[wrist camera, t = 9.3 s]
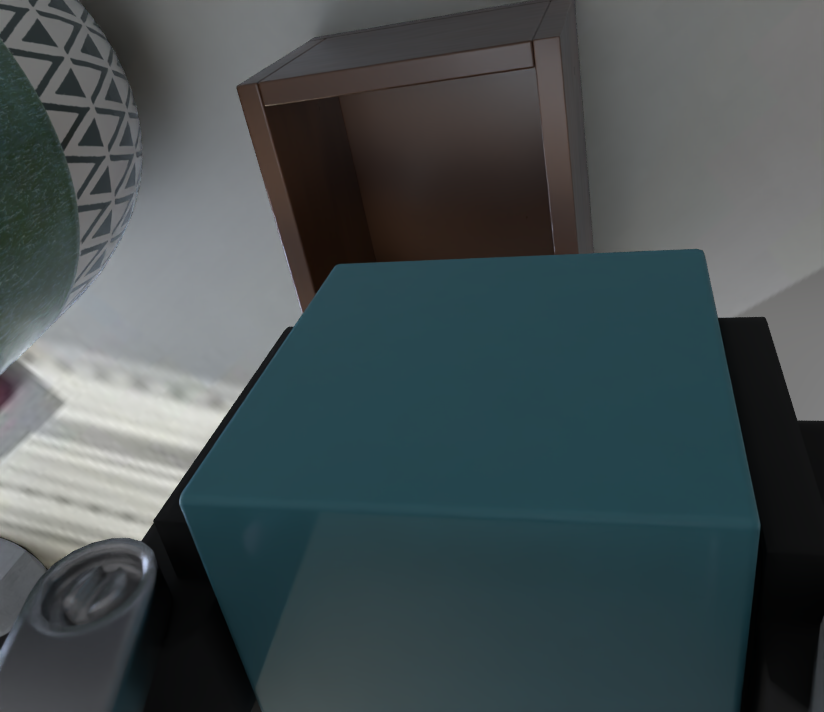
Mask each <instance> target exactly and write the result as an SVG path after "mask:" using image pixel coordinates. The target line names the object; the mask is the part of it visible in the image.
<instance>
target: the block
mask: <svg viewBox="0 0 824 712" xmlns="http://www.w3.org/2000/svg"><path fill="white" fill-rule="evenodd" d="M179 505H180V507H181V510H182V512H183V515H184V517H185V520H186V522H187V525H188V527H189V530H190V532H191V535H192V537H193V540H194V542H195V545H196V547H197V550H198V553H199V555H200V558H201V560H202V563H203V565H204V568H205V570H206V573H207V575H208V578H209V580H210V583H211V585H212V588H213V590H214V593H215V595H216V598H217V600H218V603H219V605H220V608H221V610H222V613H223V615H224V618H225V620H226V623H227V625H228V628H229V631H230V633H231V636H232V638H233V641H234V643H235V646H236V648H237V651H238V653H239V656H240V658H241V661H242V663H243V666H244V668H245V671H246V673H247V676H248V678H249V681H250V683H251V686H252V688H253V691H254V693H255V696H256V698H257V701H258V703H259V706H260V709H261V711H262V712H740V709H741V700H742V691H743V682H744V673H745V664H746V655H747V645H748V636H749V627H750V618H751V609H752V600H753V591H754V582H755V572H756V563H757V554H758V545H759V536H760V527H761V524H760V519H759V514H758V509H757V504H756V500H755V495H754V490H753V485H752V480H751V476H750V471H749V466H748V461H747V456H746V451H745V447H744V442H743V437H742V432H741V427H740V422H739V418H738V413H737V408H736V403H735V398H734V394H733V389H732V384H731V379H730V374H729V369H728V365H727V360H726V355H725V350H724V345H723V340H722V336H721V331H720V326H719V321H718V316H717V312H716V307H715V302H714V297H713V292H712V287H711V283H710V278H709V273H708V268H707V263H706V259H705V255H704V252H703V251H702V250H699V249H684V250H660V251H636V252H613V253H589V254H565V255H542V256H518V257H494V258H470V259H447V260H423V261H399V262H376V263H352V264H338V265H336V266H335V267H334V268H333V270H332V271H331V273H330V274H329V276H328V277H327V279H326V280H325V281H324V283H323V284H322V286H321V287H320V289H319V290H318V292H317V293H316V295H315V296H314V298H313V299H312V301H311V302H310V304H309V305H308V307H307V308H306V310H305V311H304V313H303V314H302V316H301V317H300V318H299V320H298V321H297V323H296V324H295V326H294V327H293V329H292V330H291V332H290V333H289V335H288V336H287V338H286V339H285V341H284V342H283V344H282V345H281V347H280V348H279V350H278V351H277V352H276V354H275V355H274V357H273V358H272V360H271V361H270V363H269V364H268V366H267V367H266V369H265V370H264V372H263V373H262V375H261V376H260V378H259V379H258V381H257V382H256V384H255V385H254V386H253V388H252V389H251V391H250V392H249V394H248V395H247V397H246V398H245V400H244V401H243V403H242V404H241V406H240V407H239V409H238V410H237V412H236V413H235V415H234V416H233V418H232V419H231V420H230V422H229V423H228V425H227V426H226V428H225V429H224V431H223V432H222V434H221V435H220V437H219V438H218V440H217V441H216V443H215V444H214V446H213V447H212V449H211V450H210V452H209V453H208V454H207V456H206V457H205V459H204V460H203V462H202V463H201V465H200V466H199V468H198V469H197V471H196V472H195V474H194V475H193V477H192V478H191V480H190V481H189V483H188V484H187V486H186V487H185V488H184V490H183V491H182V493H181V495H180V499H179Z"/></svg>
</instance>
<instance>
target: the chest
mask: <svg viewBox="0 0 824 712" xmlns="http://www.w3.org/2000/svg"><path fill="white" fill-rule="evenodd" d="M237 91H238V95H239V98H240V102H241V105H242V109H243V112H244V115H245V119H246V122H247V126H248V129H249V133H250V136H251V139H252V143H253V146H254V150H255V153H256V157H257V160H258V163H259V167H260V170H261V174H262V177H263V181H264V184H265V187H266V191H267V194H268V198H269V201H270V205H271V208H272V211H273V215H274V218H275V222H276V225H277V229H278V232H279V235H280V239H281V242H282V246H283V249H284V253H285V256H286V259H287V263H288V266H289V270H290V273H291V277H292V280H293V283H294V287H295V290H296V294H297V297H298V301H299V304H300V307H301V311H302V314H303V313H304V311H305V310H306V308H307V307H308V305H309V304H310V302H311V301H312V299H313V298H314V296H315V295H316V293H317V292H318V290H319V289H320V287H321V286H322V284H323V283H324V281H325V280H326V279H327V277H328V276H329V274H330V273H331V271H332V270H333V268H334V267H335V266H336V265H338V264H352V263H376V262H399V261H423V260H447V259H470V258H494V257H518V256H542V255H565V254H589V253H594V247H593V233H592V220H591V207H590V194H589V180H588V167H587V154H586V141H585V128H584V114H583V101H582V88H581V75H580V61H579V48H578V35H577V22H576V8H575V0H534V1H528V2H522V3H516V4H510V5H504V6H498V7H492V8H486V9H480V10H475V11H469V12H463V13H457V14H451V15H445V16H439V17H433V18H427V19H421V20H415V21H409V22H404V23H398V24H392V25H386V26H380V27H374V28H368V29H362V30H356V31H350V32H344V33H338V34H333V35H327V36H321V37H315V38H313V39H311V40H310V41H308V42H307V43H305V44H304V45H302V46H300V47H299V48H297V49H295V50H294V51H292V52H291V53H289V54H287V55H286V56H284V57H283V58H281V59H279V60H278V61H276V62H275V63H273V64H271V65H270V66H268V67H267V68H265V69H263V70H262V71H260V72H258V73H257V74H255V75H254V76H252V77H250V78H249V79H247V80H246V81H244V82H242V83H241V84H239V85H238V86H237Z"/></svg>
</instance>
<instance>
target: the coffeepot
mask: <svg viewBox="0 0 824 712" xmlns="http://www.w3.org/2000/svg"><path fill="white" fill-rule="evenodd" d="M46 571H47V569H46V568H45V567H44V566H43V564H42V563H41V562H40V561H39V560H38V559H37V558H36V557H34V556H33V555H32V554H31V553H29V552H28V551H27V550H25V549H23V548H22V547H20V546H19V545H17V544H15V543H13V542H10V541H8V540H6V539H3V538H0V637H1V636H3V635H5V634H7V633H9V632H10V631H11V629H12V627H13V625H14V623H15V621H16V619H17V617H18V615H19V613H20V611H21V609H22V607H23V605H24V603H25V601H26V599H27V597H28V595H29V593H30V591H31V590H32V588H33V587H34V586H35V584H36V583H37V581H38V580H39V578H40V577H41V576H42V575H43V574H44V573H45V572H46Z"/></svg>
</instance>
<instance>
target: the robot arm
mask: <svg viewBox="0 0 824 712" xmlns="http://www.w3.org/2000/svg"><path fill="white" fill-rule="evenodd" d="M718 321H719V326H720V331H721V336H722V340H723V345H724V350H725V355H726V360H727V365H728V369H729V374H730V379H731V384H732V389H733V394H734V398H735V403H736V408H737V413H738V418H739V422H740V427H741V432H742V437H743V442H744V447H745V451H746V456H747V461H748V466H749V471H750V476H751V480H752V485H753V490H754V495H755V500H756V504H757V509H758V514H759V519H760V524H761V527H760V536H759V545H758V554H757V563H756V572H755V582H754V591H753V600H752V609H751V618H750V627H749V636H748V645H747V655H746V664H745V673H744V682H743V691H742V700H741V709H740V712H824V421H797V418H796V415H795V412H794V408H793V405H792V402H791V398H790V395H789V392H788V389H787V386H786V382H785V379H784V376H783V372H782V369H781V366H780V363H779V360H778V356H777V353H776V350H775V347H774V343H773V340H772V337H771V333H770V330H769V327H768V323H767V321H766V318H765V317H736V318H718ZM292 329H293V327H288V328H287V329H286V330H285V331H284V332H283V333H282V335H281V336H280V338H279V339H278V341H277V342H276V344H275V345H274V346H273V348H272V349H271V351H270V352H269V354H268V355H267V357H266V358H265V359H264V361H263V362H262V364H261V365H260V367H259V368H258V370H257V371H256V373H255V374H254V375H253V377H252V378H251V380H250V381H249V383H248V384H247V386H246V387H245V388H244V390H243V391H242V393H241V394H240V396H239V397H238V399H237V400H236V402H235V403H234V404H233V406H232V407H231V409H230V410H229V412H228V413H227V415H226V416H225V417H224V419H223V420H222V422H221V423H220V425H219V426H218V428H217V429H216V431H215V432H214V433H213V435H212V436H211V438H210V439H209V441H208V442H207V444H206V445H205V446H204V448H203V449H202V451H201V452H200V454H199V455H198V457H197V458H196V459H195V461H194V462H193V464H192V465H191V467H190V468H189V470H188V471H187V473H186V474H185V475H184V477H183V478H182V480H181V481H180V483H179V484H178V486H177V487H176V488H175V490H174V491H173V493H172V494H171V496H170V497H169V499H168V500H167V502H166V503H165V504H164V506H163V507H162V509H161V510H160V512H159V513H158V515H157V516H156V517H155V519H154V520H153V522H154V523H153V525H152V526H151V528H150V529H149V531H148V532H147V534H146V535H145V536H144V538H143V539H142V541H137V540H134V539H130V538H111V539H107V540H103V541H98V542H94V543H91V544H89V545H87V546H84V547H82V548H80V549H77V550H75V551H73V552H71V553H70V554H68V555H67V556H65V557H64V558H62V559H61V560H59V561H58V562H56V563H55V564H54V565H53V566H52V567H51V568H49V569H48V570H47V571H46V572H45V573H44V574H43V575H42V576H41V577H40V578H39V580H38V581H37V583H36V584H35V586H34V587H33V588H32V590H31V591H30V593H29V595H28V597H27V599H26V601H25V603H24V605H23V607H22V609H21V611H20V613H19V615H18V617H17V619H16V621H15V623H14V625H13V627H12V629H11V631H10V632H9V633H7V634H5V635H3V636H1V637H0V712H262V711H261V709H260V706H259V703H258V701H257V698H256V696H255V693H254V691H253V688H252V686H251V683H250V681H249V678H248V676H247V673H246V671H245V668H244V666H243V663H242V661H241V658H240V656H239V653H238V651H237V648H236V646H235V643H234V641H233V638H232V636H231V633H230V631H229V628H228V625H227V623H226V620H225V618H224V615H223V613H222V610H221V608H220V605H219V603H218V600H217V598H216V595H215V593H214V590H213V588H212V585H211V583H210V580H209V578H208V575H207V573H206V570H205V568H204V565H203V563H202V560H201V558H200V555H199V553H198V550H197V547H196V545H195V542H194V540H193V537H192V535H191V532H190V530H189V527H188V525H187V522H186V520H185V517H184V515H183V512H182V510H181V507H180V505H179V499H180V495H181V493H182V491H183V490H184V488H185V487H186V486H187V484H188V483H189V481H190V480H191V478H192V477H193V475H194V474H195V472H196V471H197V469H198V468H199V466H200V465H201V463H202V462H203V460H204V459H205V457H206V456H207V454H208V453H209V452H210V450H211V449H212V447H213V446H214V444H215V443H216V441H217V440H218V438H219V437H220V435H221V434H222V432H223V431H224V429H225V428H226V426H227V425H228V423H229V422H230V420H231V419H232V418H233V416H234V415H235V413H236V412H237V410H238V409H239V407H240V406H241V404H242V403H243V401H244V400H245V398H246V397H247V395H248V394H249V392H250V391H251V389H252V388H253V386H254V385H255V384H256V382H257V381H258V379H259V378H260V376H261V375H262V373H263V372H264V370H265V369H266V367H267V366H268V364H269V363H270V361H271V360H272V358H273V357H274V355H275V354H276V352H277V351H278V350H279V348H280V347H281V345H282V344H283V342H284V341H285V339H286V338H287V336H288V335H289V333H290V332H291V330H292Z"/></svg>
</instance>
